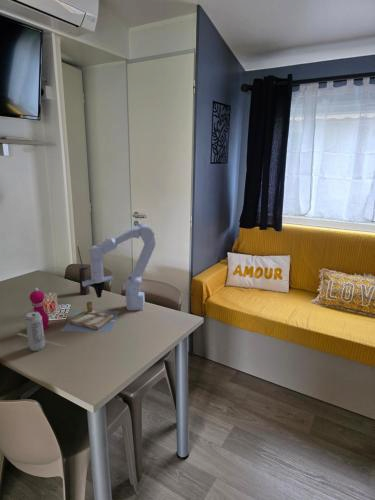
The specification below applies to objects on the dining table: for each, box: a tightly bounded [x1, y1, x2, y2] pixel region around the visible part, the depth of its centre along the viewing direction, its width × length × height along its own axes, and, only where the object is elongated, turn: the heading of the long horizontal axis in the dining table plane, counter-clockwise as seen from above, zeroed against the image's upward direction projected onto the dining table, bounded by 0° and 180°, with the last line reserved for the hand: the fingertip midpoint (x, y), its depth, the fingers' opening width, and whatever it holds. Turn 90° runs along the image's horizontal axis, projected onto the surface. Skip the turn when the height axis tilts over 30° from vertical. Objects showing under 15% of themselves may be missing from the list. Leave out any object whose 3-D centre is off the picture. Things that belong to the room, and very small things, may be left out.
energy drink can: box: [24, 311, 46, 352], centre depth 134 cm, size 6×6×15 cm
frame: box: [68, 301, 114, 329], centre depth 156 cm, size 16×12×6 cm
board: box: [60, 310, 120, 333], centre depth 157 cm, size 22×20×1 cm
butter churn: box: [77, 245, 91, 296], centre depth 187 cm, size 9×10×28 cm
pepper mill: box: [29, 287, 50, 331], centre depth 148 cm, size 7×7×20 cm
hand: (98, 296), depth 164 cm, fingers closed
